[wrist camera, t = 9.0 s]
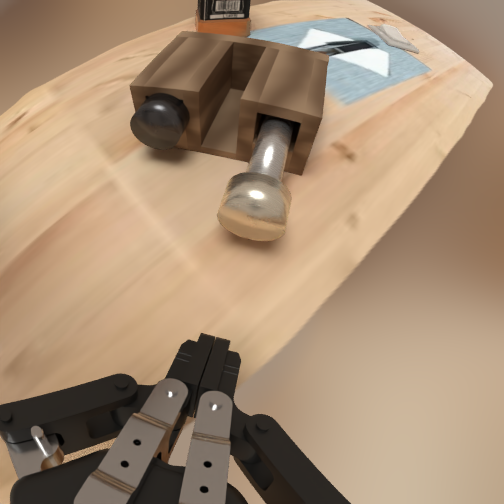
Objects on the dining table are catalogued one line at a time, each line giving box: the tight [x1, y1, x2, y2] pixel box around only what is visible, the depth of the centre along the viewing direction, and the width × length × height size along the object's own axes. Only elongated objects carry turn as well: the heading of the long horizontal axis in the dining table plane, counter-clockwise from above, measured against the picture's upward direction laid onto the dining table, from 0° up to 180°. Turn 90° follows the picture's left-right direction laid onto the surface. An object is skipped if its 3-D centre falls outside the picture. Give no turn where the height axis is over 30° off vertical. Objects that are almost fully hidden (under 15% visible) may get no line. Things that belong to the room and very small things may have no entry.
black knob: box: [130, 93, 190, 150], centre depth 31 cm, size 6×15×6 cm, turn 167°
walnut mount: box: [130, 31, 329, 175], centre depth 33 cm, size 20×14×9 cm
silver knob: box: [217, 114, 295, 241], centre depth 27 cm, size 6×15×6 cm, turn 167°
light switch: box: [367, 24, 419, 53], centre depth 58 cm, size 11×4×13 cm
